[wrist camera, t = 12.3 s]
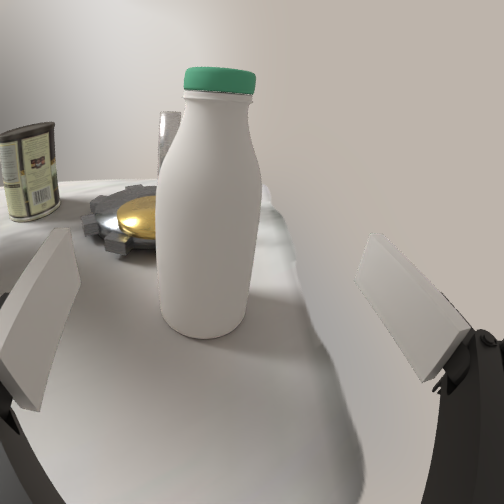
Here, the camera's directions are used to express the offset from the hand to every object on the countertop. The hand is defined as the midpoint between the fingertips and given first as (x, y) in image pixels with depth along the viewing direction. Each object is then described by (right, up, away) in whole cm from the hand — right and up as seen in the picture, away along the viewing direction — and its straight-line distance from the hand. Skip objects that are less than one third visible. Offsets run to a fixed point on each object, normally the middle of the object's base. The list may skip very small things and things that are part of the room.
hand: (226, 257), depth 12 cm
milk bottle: (-3, -5, +14) cm, 16 cm away
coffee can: (-36, +7, +27) cm, 46 cm away
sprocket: (-13, +4, +27) cm, 30 cm away
